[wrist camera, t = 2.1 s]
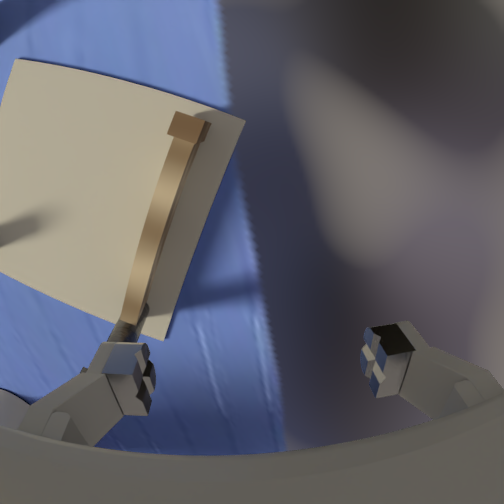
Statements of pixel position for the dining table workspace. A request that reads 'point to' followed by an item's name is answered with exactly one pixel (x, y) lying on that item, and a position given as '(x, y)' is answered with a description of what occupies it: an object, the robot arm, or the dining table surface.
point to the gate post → (127, 330)
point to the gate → (162, 210)
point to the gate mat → (98, 186)
